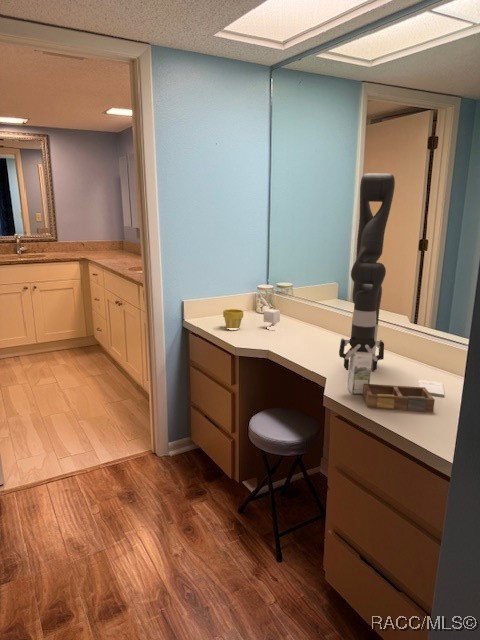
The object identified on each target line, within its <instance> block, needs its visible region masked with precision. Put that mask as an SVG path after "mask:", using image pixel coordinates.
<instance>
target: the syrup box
mask: <svg viewBox="0 0 480 640" xmlns="http://www.w3.org/2000/svg"><path fill="white" fill-rule="evenodd" d="M371 364H372V353H369V352H357V351H356V352H355V353H354V354H353V355H351V357H350V358H349V368H348V377H347V378H348V379H347V389H348V391H349V392H350V393H351V395H363V386H364V384H371V383H370V382H371V372H372V370H371Z"/></svg>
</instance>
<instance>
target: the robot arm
mask: <svg viewBox="0 0 480 640" xmlns="http://www.w3.org/2000/svg"><path fill="white" fill-rule="evenodd" d="M395 185H396V181H395V176H394V175H393V173H387V172H386V173H383V172H382V173H377V172H376V173H375V172H374V173H370V172H369V173H364V174H363V175H362V176H361V178H360V187H359V219H358V231H357V239H356V241H357V242H356V254H355V255H356V257H355V261H354V263H353V265H352V268H351V270H350V277H351V281H352V282H353V289H352V302H353V304H354V308H353V313H352V319H351V329H350V331H351V332H350V333H351V334H350V338H349V339H345V338H341V339H340V342H339V343H340V344H339V352H338V355H339V357H340V358H342V359H343V367H344V369H345V371H349V365H350V357H351V355H353V354H354V353H355V352H356V351H357V352H369V353H372V364H371V372H373V373H374V372H375V371H376V370H377V368H378V361H380V360H384V359H385V358H384V355H385V343H384V341H383V339H382V340H379V341H378V339H377V338H378V330H379V329H378V328H379V320H380V319H379V317H380V316H379V315H380V308H381V302H382V295H383V287H382V285H383V282H384V279H385V277H386V274H387V273H386V272H387V271H386V269H387V268H386V266H385V265H384V264H383V263H381V262H378V261H379V259H380V258H381V257H382V255H383V249H384V238H385V233H386V228H387V224H388V223H387V222H388V220H389V217H390V216H389V215H390V211H391V208H392V203H393V200H394V199H393V198H394V194H395ZM371 202H373V203H374V202H376V203H378V202H379V203H381V205H380V207H379V209H378V211H376V213H375V215H373V212H372V210H371V205H370V203H371ZM348 344H349V346H350V348H348V350H347V352H346V353H345V347H347V346H348ZM377 348H378V354H376V350H377Z"/></svg>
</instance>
